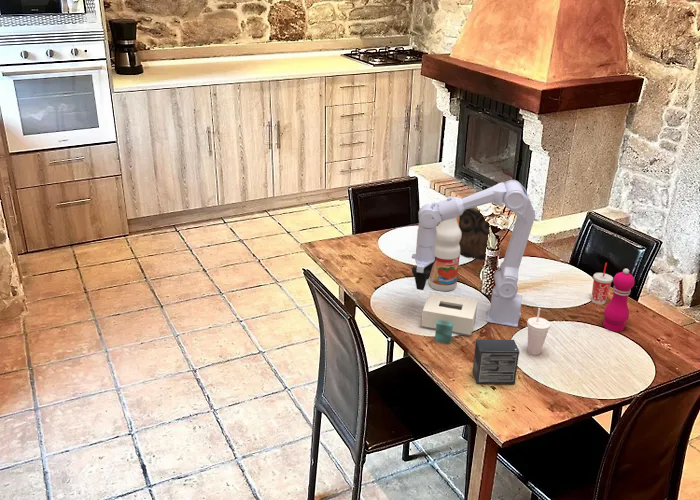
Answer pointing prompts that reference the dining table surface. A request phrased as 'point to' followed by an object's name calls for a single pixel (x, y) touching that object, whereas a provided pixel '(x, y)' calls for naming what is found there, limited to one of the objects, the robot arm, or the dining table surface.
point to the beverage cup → (601, 287)
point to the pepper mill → (619, 302)
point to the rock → (473, 234)
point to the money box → (450, 313)
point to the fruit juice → (446, 256)
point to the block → (443, 331)
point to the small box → (495, 361)
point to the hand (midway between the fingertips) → (422, 283)
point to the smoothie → (537, 333)
